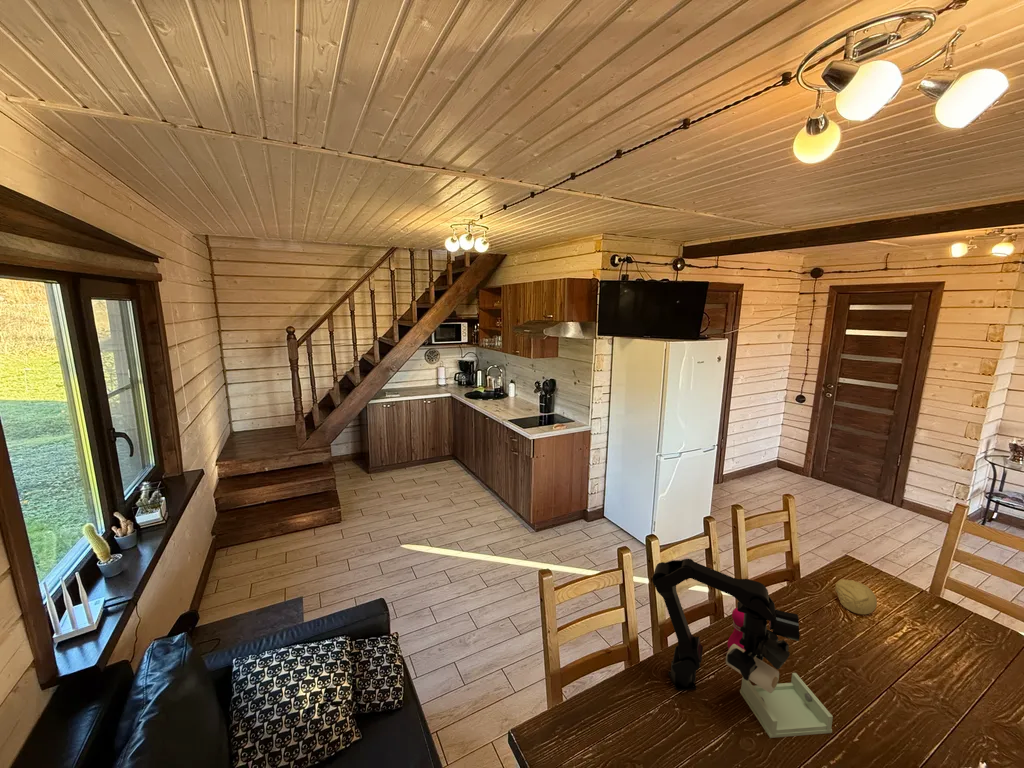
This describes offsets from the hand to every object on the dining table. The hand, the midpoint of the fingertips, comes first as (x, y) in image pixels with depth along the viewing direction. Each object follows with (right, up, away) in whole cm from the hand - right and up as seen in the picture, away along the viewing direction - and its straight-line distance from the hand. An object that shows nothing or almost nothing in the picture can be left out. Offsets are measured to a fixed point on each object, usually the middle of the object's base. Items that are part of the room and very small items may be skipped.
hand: (751, 673), depth 122 cm
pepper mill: (+7, -8, +19) cm, 22 cm away
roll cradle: (+10, -11, 0) cm, 15 cm away
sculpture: (+64, -3, +41) cm, 76 cm away
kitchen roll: (0, +2, 0) cm, 2 cm away
